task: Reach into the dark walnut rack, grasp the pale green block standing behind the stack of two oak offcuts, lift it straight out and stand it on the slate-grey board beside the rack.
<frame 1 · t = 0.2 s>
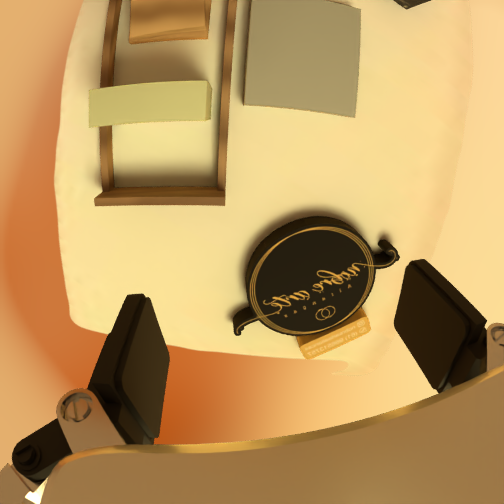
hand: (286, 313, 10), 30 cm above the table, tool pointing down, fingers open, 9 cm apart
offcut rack: (165, 75, 31), on the table
decorative sign: (313, 286, 48), on the table
grey board: (301, 53, 31), on the table
upper offcut: (169, 11, 26), point 1 cm above the table, touching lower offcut
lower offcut: (172, 16, 28), on the table, touching upper offcut
pale green block: (164, 104, 33), on the table
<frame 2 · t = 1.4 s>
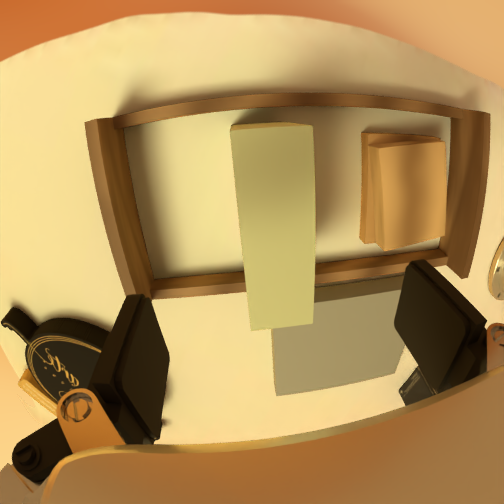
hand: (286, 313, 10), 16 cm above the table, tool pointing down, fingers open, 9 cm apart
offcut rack: (308, 190, 25), on the table
decorative sign: (85, 376, 35), on the table
grey board: (340, 333, 32), on the table
small box: (427, 377, 40), on the table
upper offcut: (405, 190, 24), point 1 cm above the table, touching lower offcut
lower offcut: (395, 184, 26), on the table, touching upper offcut
pale green block: (262, 193, 25), on the table
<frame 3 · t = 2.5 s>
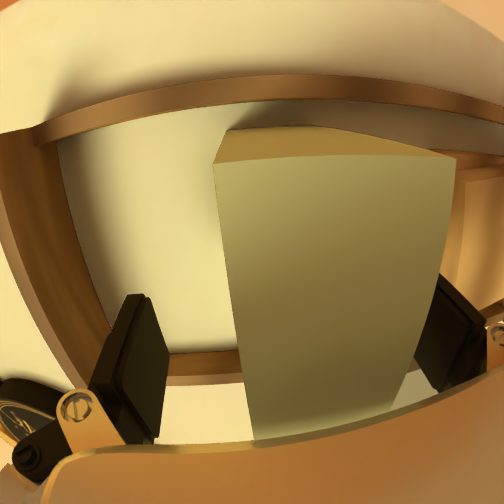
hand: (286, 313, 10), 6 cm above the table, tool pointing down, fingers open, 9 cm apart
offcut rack: (349, 237, 15), on the table
decorative sign: (63, 432, 26), on the table
grey board: (367, 403, 23), on the table
upper offcut: (477, 235, 15), point 1 cm above the table, touching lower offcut
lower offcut: (460, 222, 16), on the table, touching upper offcut
pale green block: (277, 243, 15), on the table
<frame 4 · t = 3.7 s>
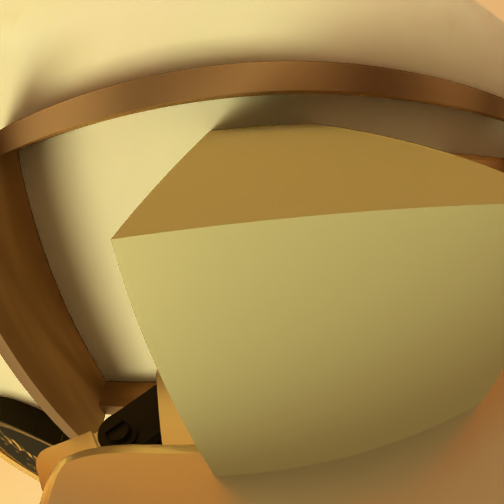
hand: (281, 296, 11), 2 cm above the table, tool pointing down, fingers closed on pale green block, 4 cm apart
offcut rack: (357, 256, 13), on the table
decorative sign: (53, 448, 23), on the table
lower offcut: (475, 234, 14), on the table, touching upper offcut
pale green block: (272, 265, 13), on the table, touching gripper
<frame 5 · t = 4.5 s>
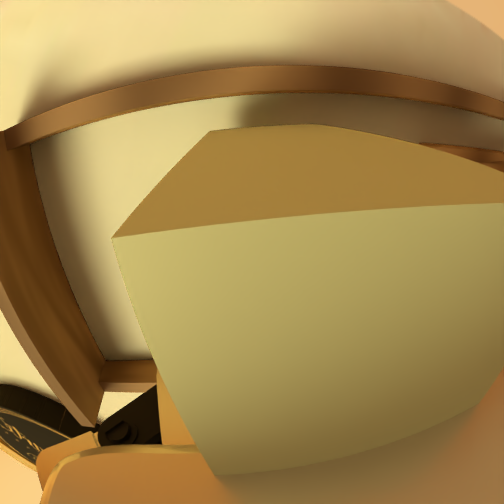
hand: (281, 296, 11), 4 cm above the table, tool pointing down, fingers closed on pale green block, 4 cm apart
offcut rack: (334, 237, 15), on the table
decorative sign: (53, 437, 24), on the table
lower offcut: (452, 219, 16), on the table, touching upper offcut
pale green block: (272, 265, 13), point 2 cm above the table, touching gripper
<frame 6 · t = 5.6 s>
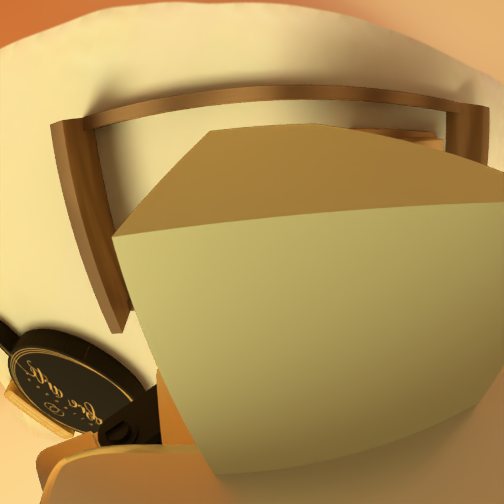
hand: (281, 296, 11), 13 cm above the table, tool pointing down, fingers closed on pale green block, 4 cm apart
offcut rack: (293, 190, 23), on the table
decorative sign: (70, 386, 32), on the table
upper offcut: (400, 190, 22), point 1 cm above the table, touching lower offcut
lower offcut: (386, 182, 24), on the table, touching upper offcut
pale green block: (272, 265, 13), point 11 cm above the table, touching gripper
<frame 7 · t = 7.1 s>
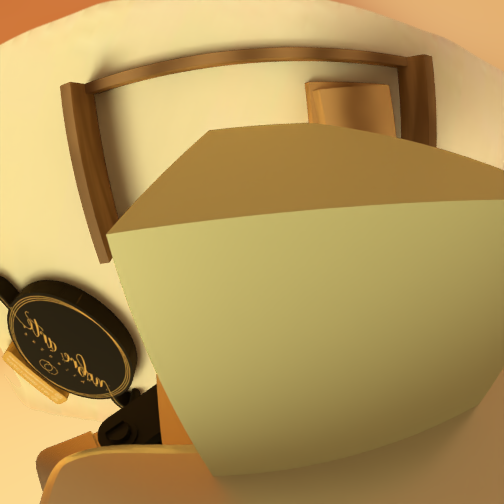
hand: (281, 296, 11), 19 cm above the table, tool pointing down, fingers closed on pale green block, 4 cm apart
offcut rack: (258, 136, 26), on the table
decorative sign: (64, 344, 36), on the table
upper offcut: (354, 132, 25), point 1 cm above the table, touching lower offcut
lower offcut: (345, 130, 27), on the table, touching upper offcut
pale green block: (272, 265, 13), point 16 cm above the table, touching gripper
when the fingers open (6 cm above the table, at t = 10.7 s): pale green block drops 1 cm, resting on grey board.
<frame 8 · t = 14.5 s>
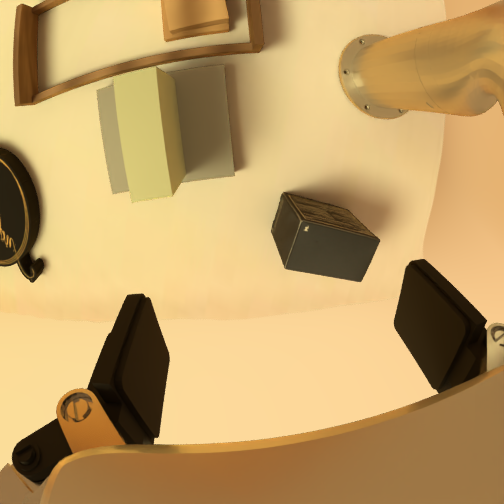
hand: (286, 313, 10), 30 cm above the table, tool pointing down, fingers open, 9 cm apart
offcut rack: (127, 18, 26), on the table
grey board: (166, 128, 34), on the table
small box: (309, 220, 42), on the table
upper offcut: (194, 0, 25), point 1 cm above the table, touching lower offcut
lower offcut: (194, 6, 27), on the table, touching upper offcut
pale green block: (163, 129, 32), point 2 cm above the table, touching grey board
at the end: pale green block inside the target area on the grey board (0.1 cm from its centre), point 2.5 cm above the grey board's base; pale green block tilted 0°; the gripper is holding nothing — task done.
